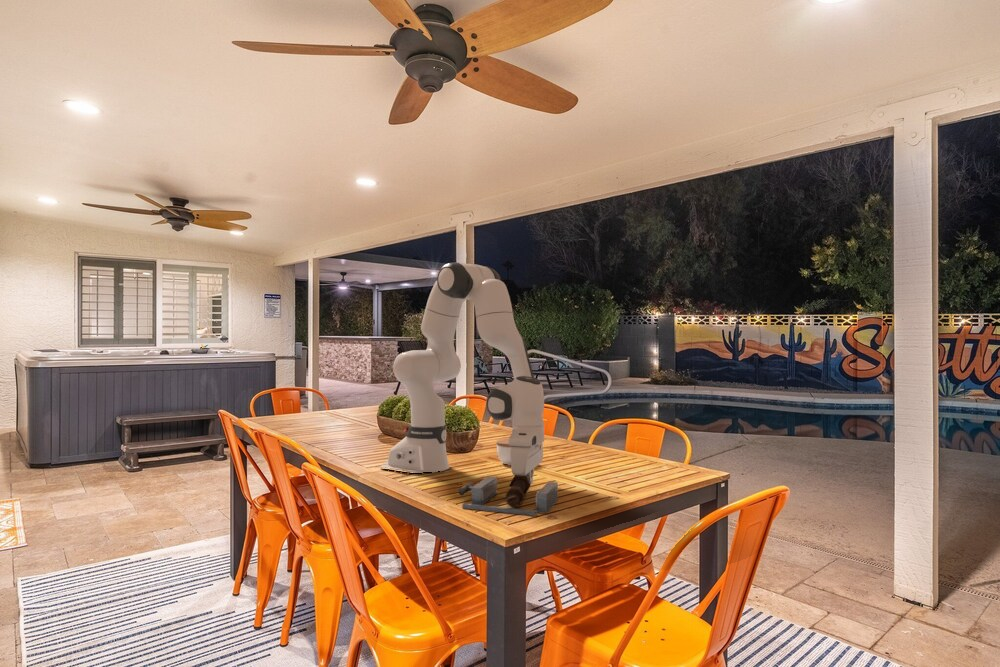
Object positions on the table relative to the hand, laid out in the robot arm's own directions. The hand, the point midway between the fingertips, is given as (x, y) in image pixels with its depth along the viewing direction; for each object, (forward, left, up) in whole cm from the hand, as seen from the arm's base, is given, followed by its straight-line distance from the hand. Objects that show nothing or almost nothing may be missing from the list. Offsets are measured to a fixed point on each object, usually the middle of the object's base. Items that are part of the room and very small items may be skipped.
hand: (528, 484), depth 157 cm
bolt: (-1, -10, -2) cm, 10 cm away
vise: (-1, -13, -2) cm, 13 cm away
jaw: (-11, -12, -2) cm, 16 cm away
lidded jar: (-15, +32, -2) cm, 36 cm away
